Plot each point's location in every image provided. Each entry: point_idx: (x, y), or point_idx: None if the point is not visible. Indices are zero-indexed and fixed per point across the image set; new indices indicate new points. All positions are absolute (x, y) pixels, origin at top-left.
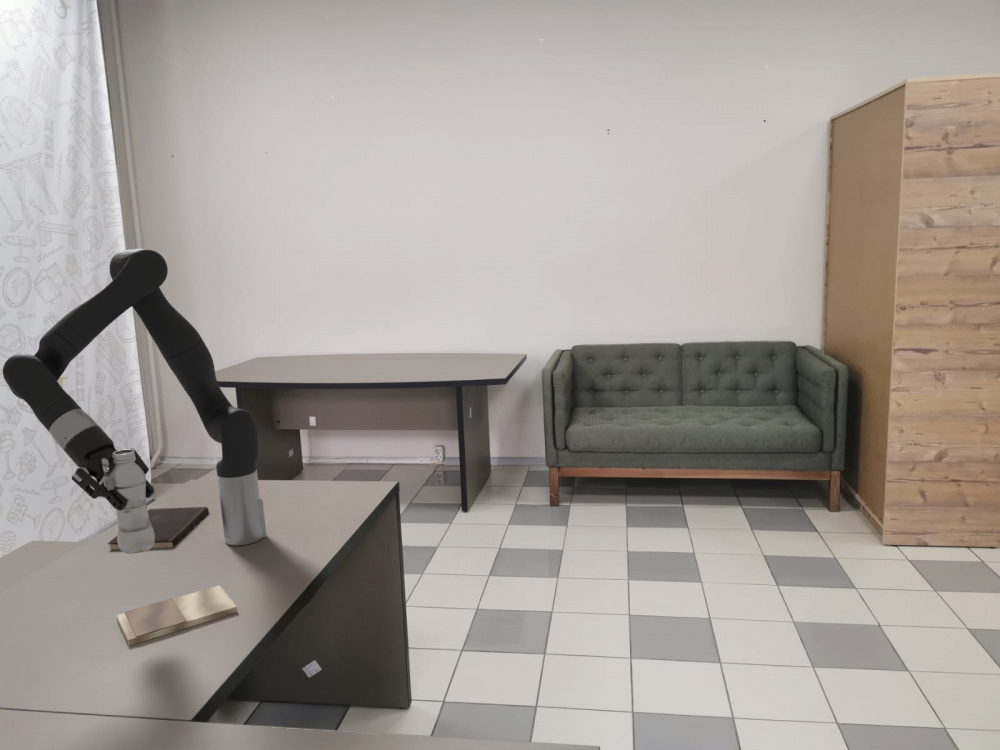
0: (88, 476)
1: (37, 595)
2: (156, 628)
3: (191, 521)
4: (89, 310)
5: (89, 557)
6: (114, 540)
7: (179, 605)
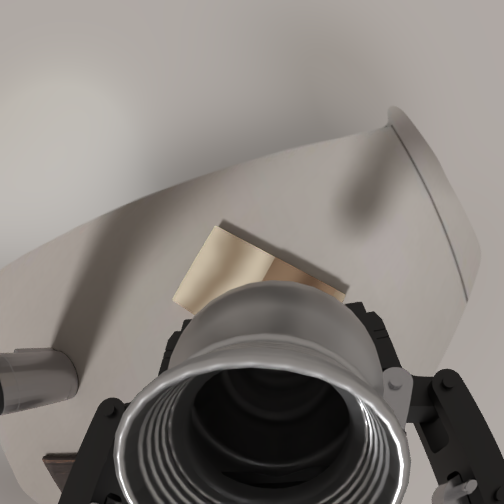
0: (478, 457)
1: None
2: (309, 280)
3: (66, 459)
4: None
5: None
6: None
7: None
